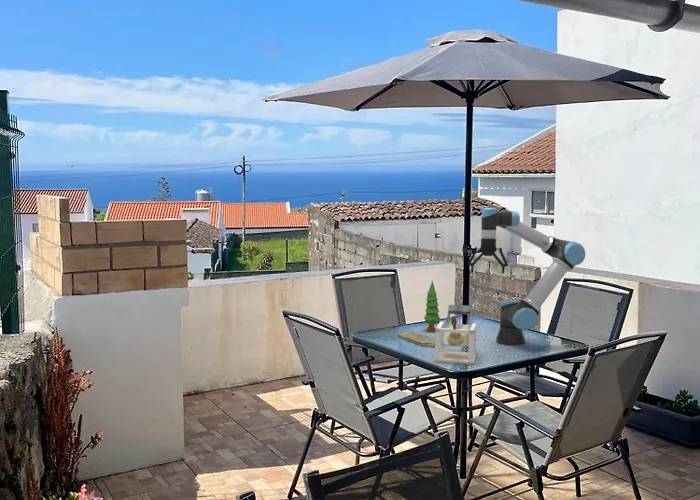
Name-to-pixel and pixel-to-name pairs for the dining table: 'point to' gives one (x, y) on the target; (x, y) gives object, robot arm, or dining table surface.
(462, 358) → the frame
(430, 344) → the stone slab
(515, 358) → the dining table surface
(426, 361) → the dining table surface
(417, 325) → the dining table surface
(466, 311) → the trapdoor
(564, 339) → the dining table surface
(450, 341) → the hand bell
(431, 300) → the decorative tree
